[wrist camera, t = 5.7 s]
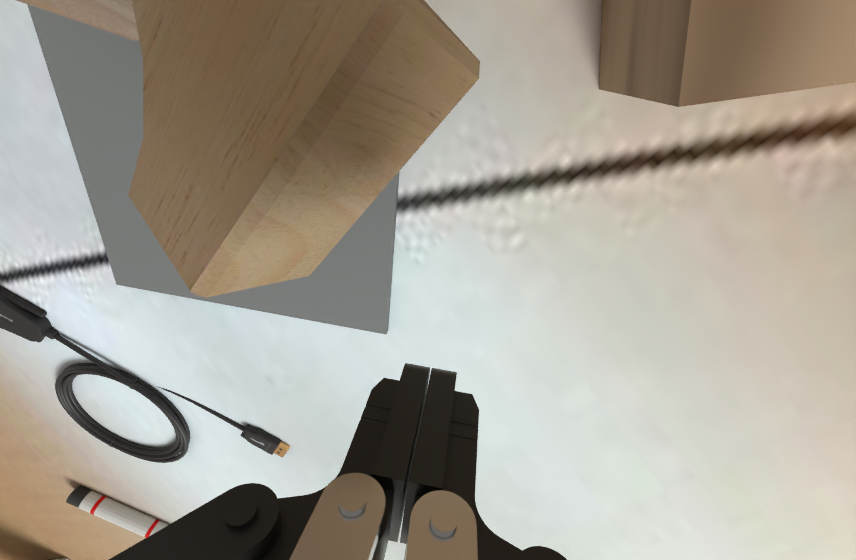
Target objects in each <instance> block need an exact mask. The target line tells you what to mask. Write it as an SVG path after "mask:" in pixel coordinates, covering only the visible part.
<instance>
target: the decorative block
mask: <svg viewBox="0 0 856 560" xmlns="http://www.w3.org/2000/svg"><path fill="white" fill-rule="evenodd" d="M17 1H20V2H23V3H26V4H28V5H31V6H34V7H37V8H40V9H43V10H46V11H49V12H52V13H55V14H58V15H61V16H63V17H66V18H69V19H72V20H75V21H78V22H81V23H84V24H87V25H90V26H93V27H96V28H98V29H101V30H104V31H107V32H110V33H113V34H116V35H119V36H122V37H125V38H128V39H131V40H133V41H140V47H141V52H142V58H143V140H142V144H141V148H140V152H139V155H138V159H137V163H136V167H135V171H134V175H133V179H132V183H131V187H130V191H129V194H128V196H129V197H130V199H131V200H132V202H133V204H134V205H135V207H136V208H137V210H138V211H139V213H140V214H141V216H142V217H143V219H144V221H145V222H146V224H147V225H148V227H149V228H150V230H151V231H152V233H153V234H154V236H155V237H156V239H157V241H158V242H159V244H160V245H161V247H162V248H163V250H164V251H165V253H166V254H167V256H168V258H169V259H170V261H171V262H172V264H173V265H174V267H175V268H176V270H177V271H178V273H179V275H180V276H181V278H182V279H183V281H184V282H185V284H186V285H187V287H188V288H189V290H190V291H191V292H192V293H194V294H195V295H197V296H201V297H206V298H207V297H212V296H216V295H221V294H226V293H230V292H235V291H240V290H245V289H249V288H254V287H259V286H264V285H268V284H273V283H278V282H283V281H287V280H292V279H297V278H302V277H306V276H310V275H311V273H312V272H313V271H314V270H315V269H316V268H317V266H318V265H319V264H320V263H321V262H322V261H323V259H324V258H325V257H326V256H327V255H328V254H329V252H330V251H331V250H332V249H333V248H334V247H335V245H336V244H337V243H338V242H339V241H340V240H341V238H342V237H343V236H344V235H345V234H346V232H347V231H348V230H349V229H350V228H351V227H352V225H353V224H354V223H355V222H356V221H357V220H358V218H359V217H360V216H361V215H362V214H363V213H364V211H365V210H366V209H367V208H368V207H369V206H370V204H371V203H372V202H373V201H374V200H375V198H376V197H377V196H378V195H379V194H380V193H381V191H382V190H383V189H384V188H385V187H386V186H387V185H388V183H389V182H390V181H391V180H392V179H393V178H394V176H395V175H396V174H397V173H398V172H399V171H400V169H401V168H402V167H403V166H404V165H405V164H406V162H407V161H408V160H409V159H410V158H411V157H412V155H413V154H414V153H415V152H416V151H417V150H418V149H419V147H420V146H421V145H422V144H423V143H424V142H425V140H426V139H427V138H428V137H429V136H430V135H431V133H432V132H433V131H434V130H435V129H436V128H437V126H438V125H439V124H440V123H441V122H442V121H443V120H444V118H445V117H446V116H447V115H448V114H449V113H450V111H451V110H452V109H453V108H454V107H455V106H456V104H457V103H458V102H459V101H460V100H461V99H462V97H463V96H464V95H465V94H466V93H467V92H468V91H469V89H470V88H471V87H472V86H473V85H474V84H475V82H476V81H477V80H478V79H479V66H480V61H479V60H478V59H477V58H476V57H475V56H474V54H473V53H472V52H471V51H470V50H469V49H468V48H467V47H466V46H465V45H464V44H463V42H462V41H461V40H460V39H459V38H458V37H457V36H456V35H455V34H454V33H453V32H452V30H451V29H450V28H449V27H448V26H447V25H446V24H445V23H444V22H443V21H442V20H441V18H440V17H439V16H438V15H437V14H436V13H435V12H434V11H433V10H432V9H431V8H430V6H429V5H428V4H427V3H426V2H425V1H424V0H17Z"/></svg>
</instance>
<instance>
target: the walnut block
mask: <svg viewBox="0 0 856 560" xmlns="http://www.w3.org/2000/svg"><path fill="white" fill-rule="evenodd" d="M853 82H856V0H602V20H601V47H600V74H599V89H601V90H605V91H610V92H614V93H619V94H623V95H628V96H632V97H637V98H641V99H646V100H650V101H655V102H659V103H664V104H668V105H673V106H677V107H681V106H688V105H695V104H702V103H709V102H717V101H724V100H731V99H738V98H745V97H753V96H760V95H767V94H774V93H781V92H789V91H796V90H803V89H810V88H817V87H824V86H832V85H839V84H846V83H853Z"/></svg>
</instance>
